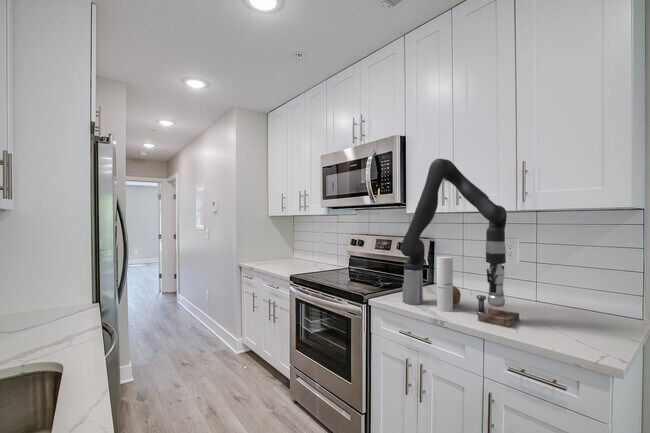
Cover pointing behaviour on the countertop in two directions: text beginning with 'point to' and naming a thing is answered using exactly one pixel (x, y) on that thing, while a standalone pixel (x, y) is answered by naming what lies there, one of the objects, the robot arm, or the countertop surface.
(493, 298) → the plastic bottle
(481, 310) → the bobbin post
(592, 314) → the countertop surface
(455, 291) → the natural sponge
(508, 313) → the wooden tray
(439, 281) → the cylindrical container
